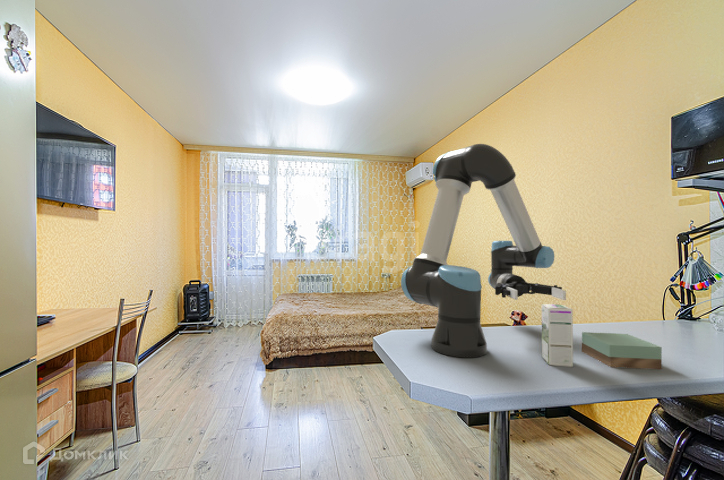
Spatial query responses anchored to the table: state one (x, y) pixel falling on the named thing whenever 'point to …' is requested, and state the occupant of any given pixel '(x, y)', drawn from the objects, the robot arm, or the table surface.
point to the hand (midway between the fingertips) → (540, 295)
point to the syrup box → (557, 335)
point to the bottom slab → (622, 360)
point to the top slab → (621, 345)
